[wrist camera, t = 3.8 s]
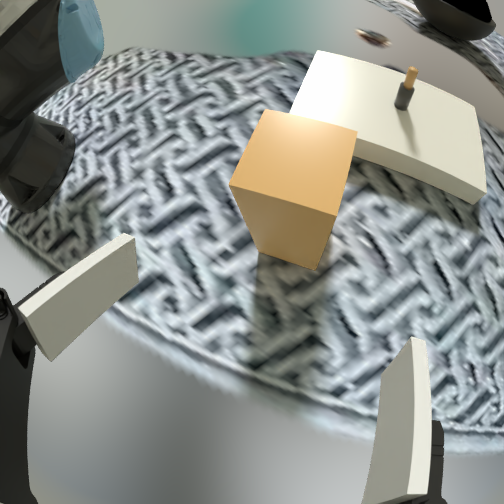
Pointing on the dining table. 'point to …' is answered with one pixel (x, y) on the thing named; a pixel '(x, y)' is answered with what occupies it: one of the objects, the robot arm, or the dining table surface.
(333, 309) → the dining table surface
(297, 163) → the tan upright carton
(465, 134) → the plate
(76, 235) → the dining table surface
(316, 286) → the dining table surface
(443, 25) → the coal bowl
